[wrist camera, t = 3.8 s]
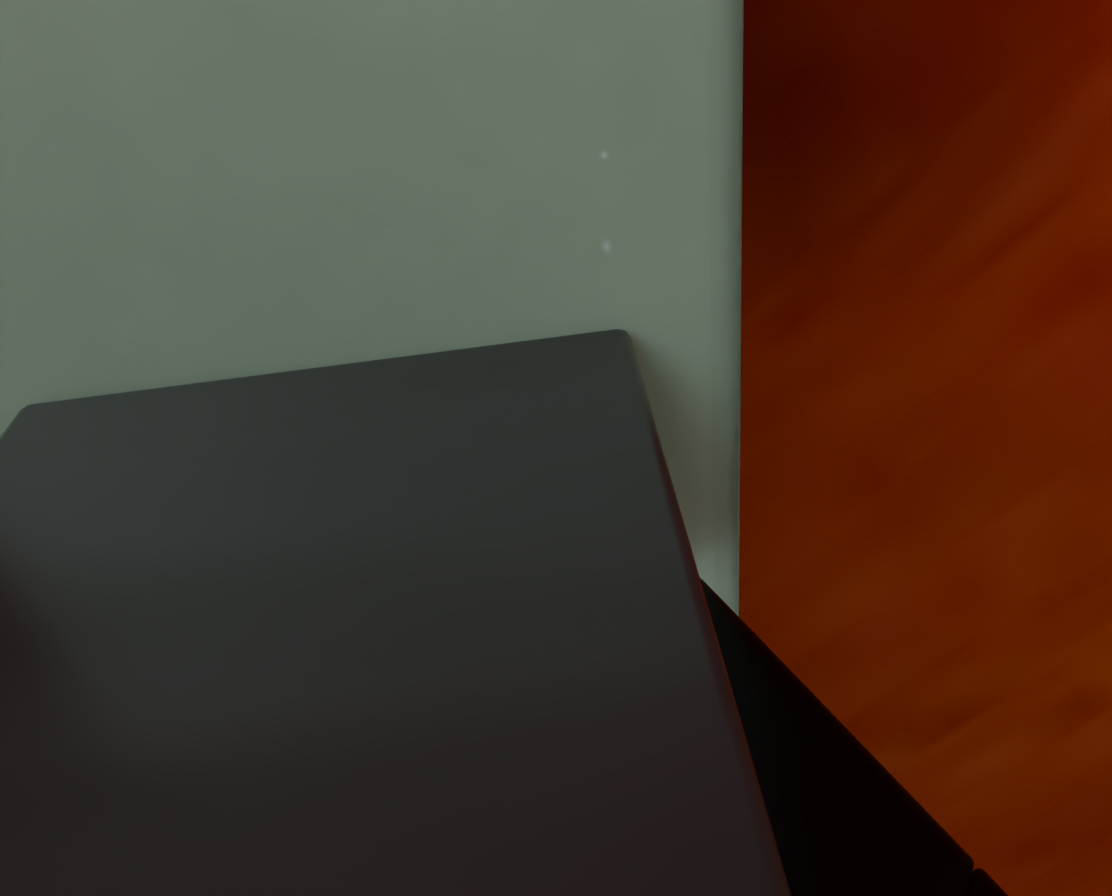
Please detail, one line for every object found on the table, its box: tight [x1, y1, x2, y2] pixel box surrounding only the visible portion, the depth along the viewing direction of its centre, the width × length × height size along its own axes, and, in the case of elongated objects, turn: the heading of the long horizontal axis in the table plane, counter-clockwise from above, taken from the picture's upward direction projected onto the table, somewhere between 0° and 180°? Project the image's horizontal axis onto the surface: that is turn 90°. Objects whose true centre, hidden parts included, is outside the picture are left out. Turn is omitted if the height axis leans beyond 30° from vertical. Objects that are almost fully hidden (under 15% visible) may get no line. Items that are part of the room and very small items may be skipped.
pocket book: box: [0, 0, 744, 617], centre depth 10 cm, size 14×7×3 cm, turn 6°
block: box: [0, 329, 792, 896], centre depth 7 cm, size 5×5×5 cm
